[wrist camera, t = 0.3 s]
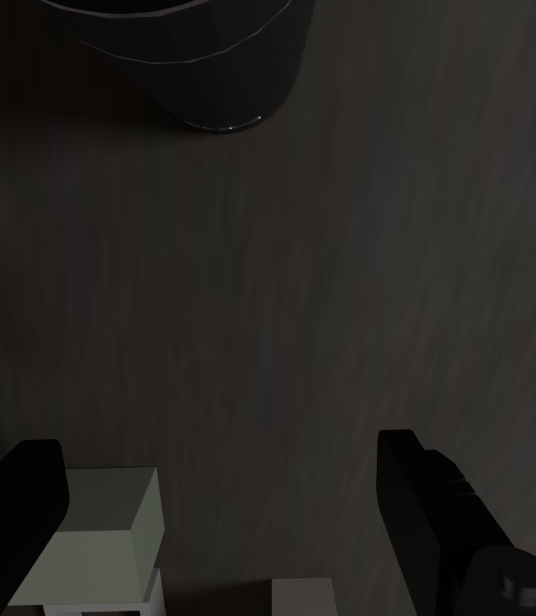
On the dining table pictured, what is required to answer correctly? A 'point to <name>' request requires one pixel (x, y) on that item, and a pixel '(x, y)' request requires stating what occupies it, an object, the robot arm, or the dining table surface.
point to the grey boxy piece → (102, 547)
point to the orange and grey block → (303, 597)
